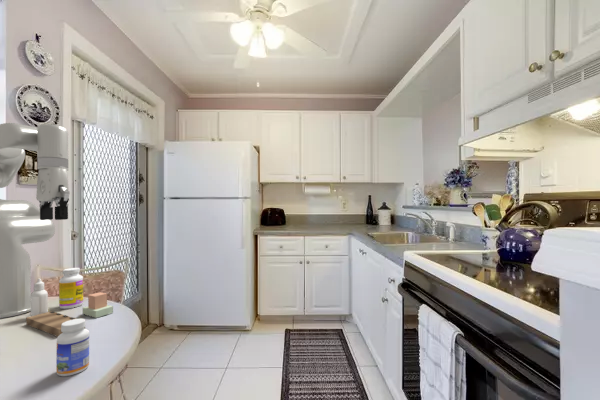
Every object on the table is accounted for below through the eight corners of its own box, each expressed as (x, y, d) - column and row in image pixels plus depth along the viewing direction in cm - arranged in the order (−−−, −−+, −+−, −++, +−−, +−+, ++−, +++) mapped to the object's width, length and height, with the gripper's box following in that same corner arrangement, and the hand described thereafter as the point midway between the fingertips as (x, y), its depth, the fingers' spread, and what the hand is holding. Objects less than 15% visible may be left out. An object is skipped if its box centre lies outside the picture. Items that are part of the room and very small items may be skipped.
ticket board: (26, 324, 87) (26, 317, 87) (51, 317, 92) (51, 310, 92) (59, 337, 78) (59, 328, 78) (85, 328, 83) (85, 320, 83)
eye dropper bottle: (28, 321, 90) (28, 281, 90) (31, 316, 94) (31, 278, 94) (47, 318, 92) (47, 279, 92) (49, 313, 97) (49, 276, 97)
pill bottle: (51, 373, 60) (50, 324, 60) (81, 360, 65) (80, 315, 65) (65, 379, 57) (64, 328, 58) (95, 366, 62) (94, 319, 63)
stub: (82, 314, 95) (82, 294, 95) (99, 309, 99) (99, 290, 99) (96, 317, 91) (95, 298, 91) (113, 312, 95) (112, 293, 95)
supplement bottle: (77, 308, 101) (77, 270, 101) (54, 310, 99) (54, 271, 100) (87, 302, 107) (86, 266, 108) (66, 304, 106) (65, 267, 106)
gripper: (26, 166, 94) (26, 220, 94) (51, 160, 86) (52, 220, 86) (54, 168, 101) (55, 219, 101) (81, 163, 93) (81, 218, 92)
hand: (53, 219), depth 93 cm, fingers open, 9 cm apart
